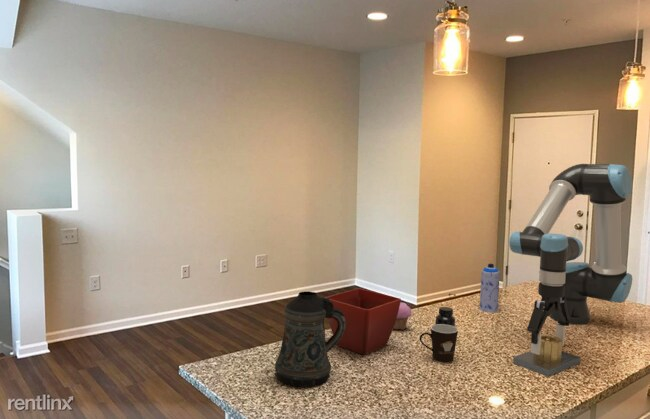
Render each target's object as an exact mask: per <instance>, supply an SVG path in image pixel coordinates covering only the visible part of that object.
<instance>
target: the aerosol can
mask: <svg viewBox="0 0 650 419" xmlns="http://www.w3.org/2000/svg"><path fill="white" fill-rule="evenodd" d="M500 274H501V273H500V270H499V269H498V268H497V267H495V265H494V263H488V264H487V266H486V267H483V269H482V270H481V273H480V294H479V308H478V309H479V310H480V311H481V312H485V313H497V312H498V311H499V294H500V292H499V291H500Z"/></svg>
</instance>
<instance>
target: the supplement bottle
mask: <svg viewBox="0 0 650 419" xmlns="http://www.w3.org/2000/svg"><path fill="white" fill-rule="evenodd" d="M434 321H435V324H434V325H437V324H445V325H451V326H454V327H456V318H455V317H454V309H453V308H451V307H449V306H440V307H439V308H438V314H437V315H436V317H435V320H434Z"/></svg>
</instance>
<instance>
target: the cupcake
mask: <svg viewBox="0 0 650 419" xmlns="http://www.w3.org/2000/svg"><path fill="white" fill-rule="evenodd" d="M410 317H412V309H411V307H410V306H409V305H407V303H405V302H400V307H399V311H398V315H397V318H396V322H395V325H394V328H393V329H394V330H403V331H404V330H405V328H406V326H407V323H408V319H409V318H410Z"/></svg>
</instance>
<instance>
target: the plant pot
mask: <svg viewBox="0 0 650 419" xmlns="http://www.w3.org/2000/svg"><path fill="white" fill-rule="evenodd" d="M324 298H328V299H330V300H331V302H332V303H333V308H338V309H339V310H340V311H342V312H343V314H344V318H345V323H346V325H345V331H344V333H343V335H342V337H341V339H340V340H339V341H338V343H337V344H336V345H337V346H339V347H342V348H344V349H345V350H346V349H347V350H350V351H353V352H355V353H357V354H361V355H367V354H368V355H369V353H372V352H374V351H376V350H379V349H381V348H385V347H386V346H387V345H388V342H389V340H390V338H391V336H392V333H393V329H394V325H395V322H396V318H397V315H398V311H399V307H400V303H402V301H401V298H399V297H396V296H392V295H387V294H383V293H380V292H376V291H372V290H367V289H363V288H354V289H351V290H347V291H343V292H340V293H335V294H331V295H329V296H325V297H324ZM327 319H328V323H329V327H330V330H331V332H332V335H333V334H334V333H335V331H336V329H337V327H338V323H337V321H336V319H334V318H327Z"/></svg>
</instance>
